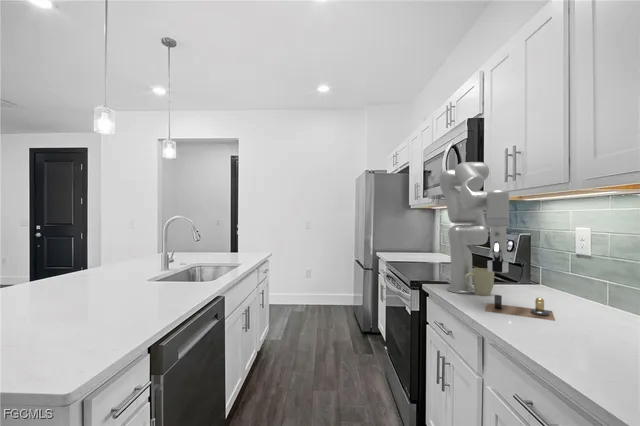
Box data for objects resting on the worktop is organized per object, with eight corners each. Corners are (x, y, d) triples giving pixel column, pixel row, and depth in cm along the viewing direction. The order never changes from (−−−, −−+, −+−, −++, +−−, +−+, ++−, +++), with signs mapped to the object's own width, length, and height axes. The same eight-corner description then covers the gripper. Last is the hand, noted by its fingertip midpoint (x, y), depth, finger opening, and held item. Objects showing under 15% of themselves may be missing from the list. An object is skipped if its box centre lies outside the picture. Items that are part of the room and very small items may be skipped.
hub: (526, 312, 117) (526, 296, 117) (539, 310, 119) (539, 295, 119) (540, 316, 112) (540, 300, 112) (553, 315, 113) (553, 299, 113)
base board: (484, 314, 119) (484, 311, 119) (487, 305, 130) (487, 302, 130) (555, 324, 108) (555, 320, 108) (552, 314, 119) (552, 310, 119)
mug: (475, 293, 151) (475, 267, 152) (498, 297, 144) (498, 270, 144) (464, 296, 144) (464, 269, 145) (487, 301, 137) (487, 272, 137)
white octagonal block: (483, 269, 125) (483, 260, 125) (498, 269, 126) (498, 260, 126) (497, 272, 118) (497, 263, 118) (512, 272, 120) (512, 262, 120)
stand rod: (493, 307, 123) (492, 295, 123) (498, 307, 123) (498, 294, 124) (497, 309, 121) (497, 296, 121) (503, 309, 121) (503, 296, 121)
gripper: (508, 223, 113) (508, 275, 113) (509, 222, 128) (510, 268, 128) (484, 223, 117) (484, 273, 117) (488, 222, 132) (488, 266, 132)
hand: (497, 270), depth 122 cm, fingers closed on white octagonal block, 6 cm apart
